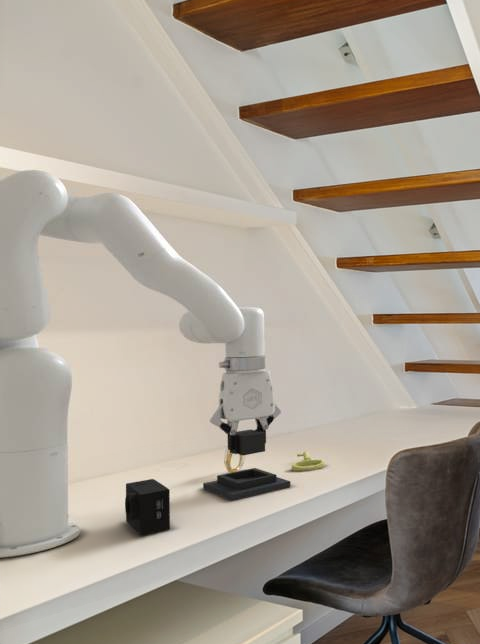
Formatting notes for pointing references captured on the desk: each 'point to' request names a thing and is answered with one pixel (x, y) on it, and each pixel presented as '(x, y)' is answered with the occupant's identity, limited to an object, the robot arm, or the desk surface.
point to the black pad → (251, 442)
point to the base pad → (245, 484)
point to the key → (307, 463)
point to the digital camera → (147, 506)
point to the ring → (228, 458)
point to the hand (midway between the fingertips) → (247, 449)
